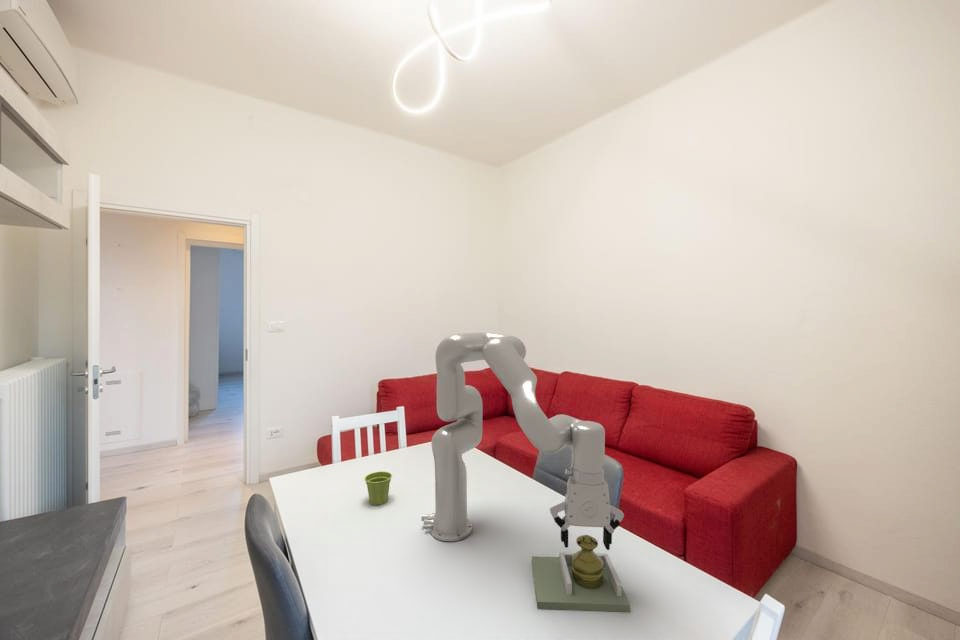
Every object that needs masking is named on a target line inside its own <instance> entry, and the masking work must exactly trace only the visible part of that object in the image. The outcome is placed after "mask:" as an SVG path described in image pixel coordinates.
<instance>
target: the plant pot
mask: <svg viewBox="0 0 960 640" xmlns="http://www.w3.org/2000/svg"><path fill="white" fill-rule="evenodd" d="M392 478H393V474H392V473H391V472H388V471H375V472H371V473H368V474H367V475H365V477H364V481H365V484H366V487H367V493H368V500H369V504H370V505H373V506H378V505H384V504H386V503H387V502H388V499H389V492H390V485H391V484H390V483H391V482H392V481H391V479H392Z"/></svg>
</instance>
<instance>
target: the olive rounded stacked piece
mask: <svg viewBox="0 0 960 640" xmlns="http://www.w3.org/2000/svg"><path fill="white" fill-rule="evenodd" d="M575 541H576V545H577V546H579V547H580V549H579V550H578V551H575V552H573V553H574V554H573V555H572V558H571V561H572V567H571V568H572V578H573V580H574V581H575V582H576V583H577V584H579V585H581V586H583V587H586V588H596V587H599V586H601V585H602V583H603V581H604V578H603V575H604V571H603V566H604V563H603V560H602V559H601V557H600V556H599V555H597V554H596V553H597V552H594V549H596V548H598V545H599V543H598V542H599V541H598V539H596V537H593V536H591V535H589V534H582V535H579V536H577V537H576V540H575Z"/></svg>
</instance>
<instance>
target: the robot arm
mask: <svg viewBox="0 0 960 640" xmlns="http://www.w3.org/2000/svg"><path fill="white" fill-rule="evenodd" d="M526 355H527V350H526V346H525V344H524V342H523V341H522V340H521V339H520V338H519V337H517V336H513V335H506V334H505V335H504V334H498V333H497V334H496V333H489V332H463V333H455V334H451V335H449V336H447V337H445V338H444V339H442V340H441V341H440V343H439V344H438V345H437V347H436V351H435V368H436V414H437V415H438V418H439V419H440V420H441V421H444V422H449V423H450V422H452V423H450V424H446V425H444V426H442V427H439V429H437V430H436V431H435V432H434V434H433V435H432V437H431V450H432V456H433V462H434V481H435V482H434V486H435V487H434V489H435V493H434V496H435V499H434V500H435V502H434V503H435V512H433V513H432V514H428V513H422V514H421V517H420V518H421V522H423V525H424V526H429V525H430V529H429V530H430V534H431V535H432V537H433V538H435V539H436V540H439V541H442V542H458V541H460V540H463V539H466V538H468V537H469V536H470V535H471V533H472V531H473V524H472V522H471V521H470V520H469V519H468V490H467V488H468V482H467V481H468V476H467V474H468V473H467V466H466V463H465V462H464V460H463V455H464V454H465V453H467V452H469V451H471V450H473V449H475V448H476V447H477V446H478V445H479V444H480V443H481V441H482V439H483V437H482V436H483V414H484V413H483V412H484V411H483V409H484V408H483V399H482V396H481V393H480V391H479V390H478V389H477V388H476V387H474V386H473V385H468V384H466V374H465V371H464V367H463V366H462V364H464V363H468V362H469V363H471V362H476V361H477V362H478V361H485V363H487V366H488V367H489V368H490V369H491V371H492V372H493V374H494V375H495V376H496V377H497V379H498V380H499V381H500V383H501V385H502V386H503V387H504V388H505V389H506V391H507V392H508V394H509V395H510V397H511V403H512V404H511V405H512V409H513V412H514V415H515V418H516V422H517V423H518V425H519V427H520V429H521V430H522V432H523V433H524V434H525V435H524V436H526V437H527V439H528V440H529V441H530V443H531V444H532V445H533V446H534V447H535V448H536V450H538V451H540V452H541V453H543V454H546V455H554V454H556V453H558V452H560V451H561V450H563V449H564V448H567V447H570V446H571V464H570V467H569V468H565V470H564V473H565V475H566V476H567V475H568V476H569V477H568V480H567V483H566V489H565V497H564V498H565V499H564V501H562V502H560V503H558V504H556V505H554V506H552V507H550V508H549V511H550V514H551V517H552V518H553V520H554V523H555V524H556V525H557V526H558V527H560V541H561V543H563V546H564V548H569V527H570V526H574V527H583V528H584V527H585V528H590V527H592V528H602V530H603V531H602V542H603V546H604V547H605V549H606V551H609V550H611V549H610V547H611V546H610V545H612V543H613V542H612V541H613V533H615V530H616V529H617V528H618V527H619V526H620V525H621V522H622V521H623V519H624V516H625V514H624V512H623V511H622V510H621V509H619V508H617V507H615V506H613V505H611V503H610V502H611V499H610V490H609V484H608V482H607V481H606V479H605V451H606V450H605V448H606V447H605V446H606V445H605V444H606V439H605V438H606V430H605V427H604V425H602V424H601V423H599V422H596V421H593V420H592V421H591V420H582V419H579V418H576V417H573V416H570V415H568V414H555V416H552V417H550V418H549V417H548V416H547V415H546V414H545V413H544V412H543V409H541V407H540V405H539V403H538V401H537V398H536V388H537V387H536V386H537V384H538V383H537V382H538V377H537V375H536V374H535V373H534V372H533V370H532V368H530V366H529V365H528V363H527V362H526V361H525V358H526ZM563 511H564V514H565V515H564V516H563V517H562V518H561V517H560V516H559V515H558V513H560V512H563ZM611 514H613V515H614V517H613V518H612V519H611Z"/></svg>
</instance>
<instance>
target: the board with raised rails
mask: <svg viewBox="0 0 960 640" xmlns="http://www.w3.org/2000/svg"><path fill="white" fill-rule="evenodd" d="M574 553H575V552H567V551H566V552H561V551H560V552H559V556H534V555H533V556H531V568H532V577H533V585H534V593H535V603H536V609H538V610H539V609H541V610H542V609H545V610H570V611H572V610H573V611H574V610H575V611H594V612H595V611H597V612H600V611H601V612H621V613H623V612H624V613H630V612H631V603H630V602H629V600H628V597H627V595H626V593H625V591H624V589H623V586H622V583H621V581H620V578H619V576H618V574H617V572H616V569H615V567H614V565H613V562H612V560H611V558H610V556H609V554H608V553H605V552H603V553H600V552H595V553H596V554H597V555H599V556H600V557H601V559H602V560H603V563H604V566H603V571H604V575H603V578H604V581H603V583H602V585H601V586H599V587H596V588H586V587H583V586H581V585H579V584H577V583H576V582H575V581H574V580H573V578H572V568H571V567H572V561H571V558H572V555H573V554H574Z"/></svg>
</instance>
